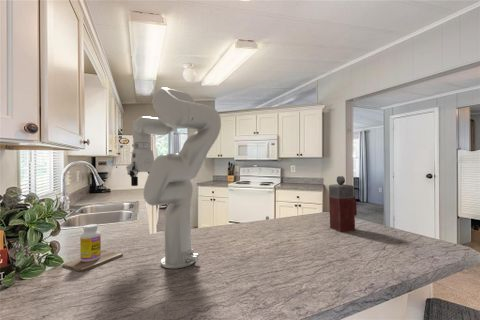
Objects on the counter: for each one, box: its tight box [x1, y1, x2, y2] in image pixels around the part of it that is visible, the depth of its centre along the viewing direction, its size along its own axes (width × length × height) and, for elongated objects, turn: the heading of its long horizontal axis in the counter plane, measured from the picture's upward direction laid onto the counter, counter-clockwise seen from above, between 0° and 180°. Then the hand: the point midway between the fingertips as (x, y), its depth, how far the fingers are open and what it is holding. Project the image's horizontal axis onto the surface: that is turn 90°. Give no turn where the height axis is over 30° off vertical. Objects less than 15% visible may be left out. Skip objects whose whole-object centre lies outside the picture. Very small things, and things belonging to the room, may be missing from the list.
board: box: [62, 249, 124, 273], centre depth 94 cm, size 12×16×1 cm
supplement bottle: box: [79, 223, 102, 262], centre depth 94 cm, size 7×7×13 cm
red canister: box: [328, 175, 358, 233], centre depth 130 cm, size 9×11×28 cm
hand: (143, 184), depth 111 cm, fingers open, 9 cm apart
